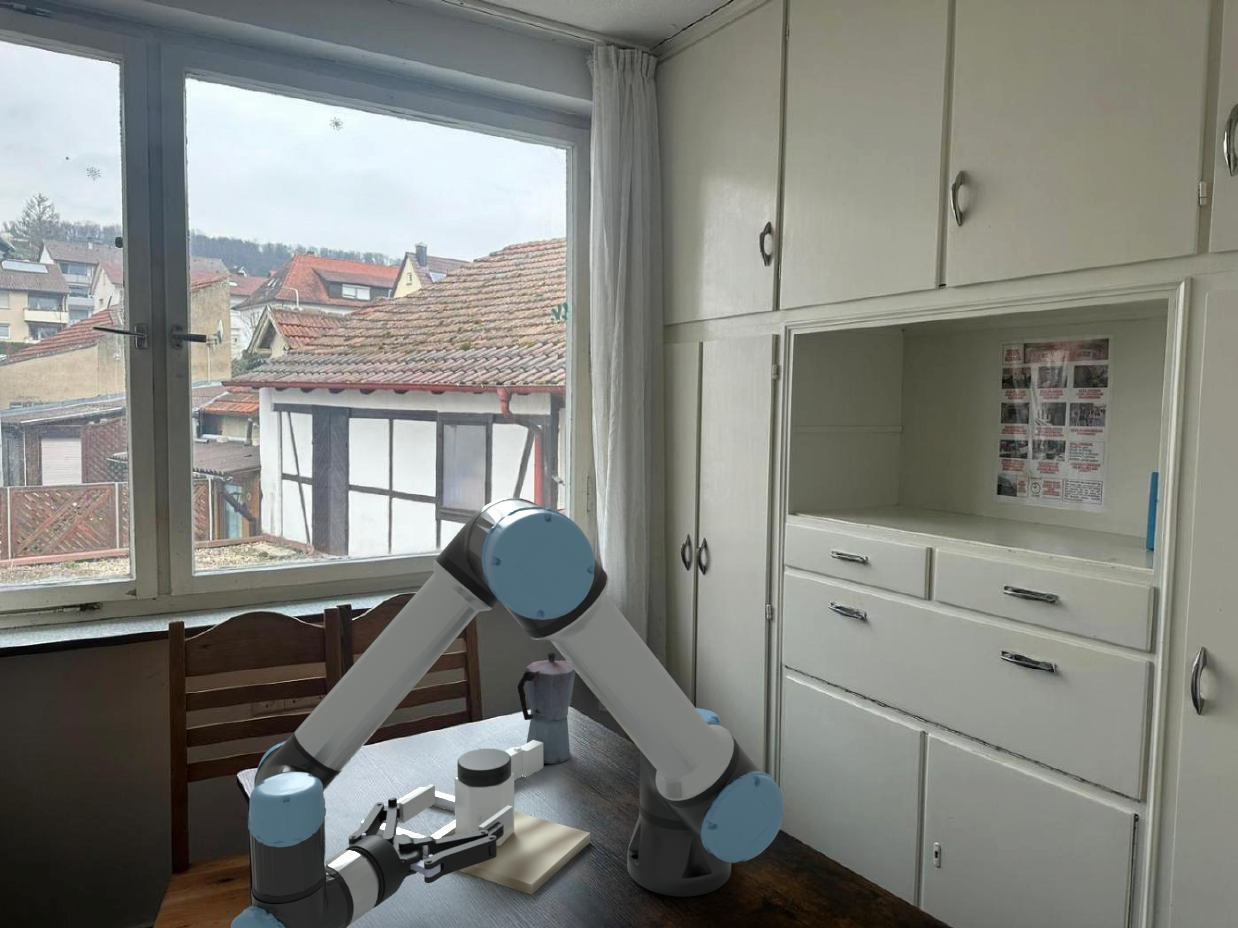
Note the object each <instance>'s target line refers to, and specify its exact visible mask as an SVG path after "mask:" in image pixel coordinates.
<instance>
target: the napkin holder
mask: <svg viewBox="0 0 1238 928" xmlns="http://www.w3.org/2000/svg"><path fill="white" fill-rule="evenodd" d="M526 743H527V742H526ZM526 743H525V744H523V745H521V746H516V747H515V746H511V747H510V748H508V749H506V750H503V751H504V752H506V753H508V754H509V755H510V756H511V772H512V773H513V774H514V781H517V780H518V779H519V777H520V776H522V775H523V777H525V776H529V775H531V774H532V775H534V774H535V773H534V772H536V773H537V772H539V771H540V769H541V770H543V769H544V763H543V742H539V741H536V740H532V741H530V742H528V743H527V744H526ZM542 768H543V769H542ZM533 773H534V774H533ZM532 775H531V776H532ZM529 777H530V776H529ZM517 778H518V779H517ZM520 778H521V777H520ZM525 778H526V777H525Z"/></svg>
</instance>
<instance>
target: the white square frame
mask: <svg viewBox="0 0 1238 928" xmlns="http://www.w3.org/2000/svg"><path fill="white" fill-rule="evenodd" d="M423 788H425V787H422V786H420V787H418V788H417V789H415V790H413V791H412V792H410V793H408V794H406V795H405V796H403V797H401V798H399V799H397V803H398V802H400V801H402V800H403V799H405V798H407V797H410V796H412V795H413V794H415V793H417V792H418V791H420V790H422V789H423ZM433 805H434V806H433V807H435V806H437V807H436V808H439V807H441V808H440V809H442V808H445V809H444V810H446V809H447V811H449V810H450V812H452V811H455V795H453V794H452V795H451V794H448V793H445V792H441V791H437V790H435V804H433ZM363 822H364V820H362V821H361V822H360V826H361V825H362V823H363ZM385 826H386V820H384V822H383V824H382V826H381V827H380V829H379V830H378V832H377V834H376V835H377V836H380V837H383V835H384V830H385ZM402 833H404V834H407V835H409V836H410V837H417V838H422V837H426V835H422V834H419V833H416V832H412V831H409V830H406V829H403V828H400V827H397V832H396V834H402ZM453 835H455V819H454V820H452V821H451V822H449V823H448V824H446V825H445V826H444V827H442V828H441V829H439V830H438V831H436V832H434V833H433V834H432V835H431V836H432V837H433V838H434V839H437V838H443V837H448V836H453ZM423 849H424V855H425V856H428V846H427V845H426V846H423Z"/></svg>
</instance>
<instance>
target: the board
mask: <svg viewBox="0 0 1238 928" xmlns="http://www.w3.org/2000/svg"><path fill="white" fill-rule="evenodd" d="M590 843H591V832H588V831H585V830H582V829H578V828H574V827H571V826H567V825H564V824H560V823H557V822H554V821H549V820H546V819H543V818H539V817H535V816H532V815H529V814H525V813H521V812H517V811H515V810H514V833H513V834H512V835H511V836H510V837H509V838H508V839H507V840H506V841H505V842H504V843H503V844H502V845H501V846H497V856H496V857H495V858H493V859H490V860H487V861H484V862H481V863H478V864H475V865H473V866H470V867H467V868H464V869H461V870H458V871H459V872H462V873H466V874H468V875H470V876H471V875H472V876H474V877H477V878H481V879H482V880H483V879H484V880H486V881H489V882H491V883H492V882H493V883H494V884H498V885H501V886H504V887H507V888H510V889H513V890H515V891H519V892H520V893H521V892H522V893H525V894H528V895H531V896H532V895H534V893H536V891H538V890H539V889H540V888H541V887H542V886H543V885H545V884H546V882H548V881H549V880H551V878H552V877H553V876H555V874H557V873H558V872H559V871H560V870H561V869H562V868H564V866H566V865H567V864H568V863H569V862H570V861H571V860H572V859H573V858H574V857H575V856H577V855H578V854H579V853H580V852H581V851H582V850H583V849H585V848H586V847H587V846H588V845H589V844H590Z"/></svg>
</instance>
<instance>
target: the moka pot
mask: <svg viewBox="0 0 1238 928" xmlns="http://www.w3.org/2000/svg"><path fill="white" fill-rule="evenodd" d="M556 656H557V654H556V653H555V652H548V653H547V657H548V659H547V660H538V661H532V662H531V663H530V664H529V665H527V666H526V670H525V671H524V673H523V676H522V677H521V679H520V680H519V682H518V683H517V692H518V695H519V701H520V707H521V710H522V714H523V720H525V721H528V720H529V727H528V733H527V738H526V743H525V744H527V743H528V742H530V741H532V740H536V741H539V742H543V764H545V765H546V764H550V765H551V764H559V763H562V762H565V761H567V760H569V759H570V756H571V751H570V749H571V747H570V746H571V745H570V736H569V735H570V734H569V725H568V724H569V721H568V720H569V719H568V714H569V707H570V706H571V703H572V696H573V689H574V684H575V677H576V673H577V672H576V671H575V670H574V669H573V667H572V666H571V665H570V664H569V663H568V661H567V660H556ZM525 683H527V695H528V696H527V698H528V706H530V713H529V712H528V711H529V710H528V708H527V702H526V701H527V700H526V692H525V688H524V686H525Z"/></svg>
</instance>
